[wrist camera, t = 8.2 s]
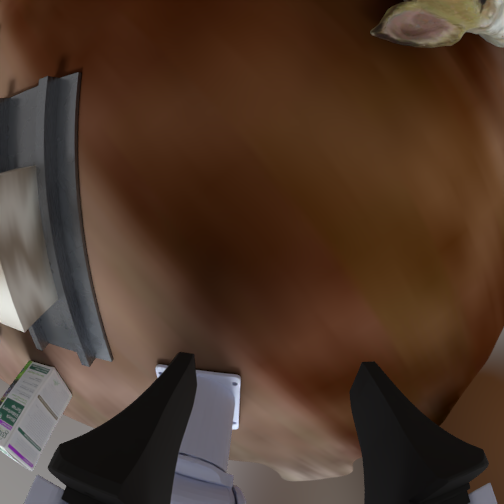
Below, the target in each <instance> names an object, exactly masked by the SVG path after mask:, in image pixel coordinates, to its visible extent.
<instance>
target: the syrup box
mask: <svg viewBox="0 0 504 504" xmlns="http://www.w3.org/2000/svg"><path fill="white" fill-rule="evenodd" d="M71 398H72V394H71V392H70V391H69V389H68V387H67V386H66V384H65V383H64V381H63V380H62V378H61V377H60V375H59V373H58V372H57V370H56V369H55V367H49V366H46V365H43V364H39V363H36V362H33V361H29V362H28V363H27V364H26V366H25V367H24V368H23V369H22V371H21V372H20V373H19V375H18V376H17V377H16V379H15V380H14V381H13V383H12V384H11V385H10V387H9V388H8V390H7V391H6V392H5V394H4V395H3V397H2V398H1V400H0V450H1V451H2V452H3V453H5V454H6V455H7V456H9V457H10V458H12V459H13V460H14V461H16V462H17V463H19V464H20V465H22V466H23V467H25V468H27V469H28V470H30V471H33V469H34V467H35V465H36V463H37V461H38V459H39V457H40V455H41V453H42V451H43V449H44V447H45V445H46V443H47V441H48V439H49V437H50V436H51V434H52V432H53V430H54V428H55V426H56V424H57V422H58V421H59V419H60V417H61V415H62V414H63V412H64V410H65V408H66V406H67V405H68V403H69V401H70V400H71Z"/></svg>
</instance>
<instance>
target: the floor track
mask: <svg viewBox="0 0 504 504" xmlns="http://www.w3.org/2000/svg"><path fill="white" fill-rule="evenodd" d="M81 74H82V73H80V72H77V73H74V74H71V75H68V76H65V77H62V78H56V77H50V76H47V77H44V78H42V79H39V86H37V87H34V88H32V89H29V90H27V91H24V92H22V93H20V94H18V95H15V96H13V97H11V98H0V173H2V172H6V171H9V170H13V169H18V168H24V167H29V166H35V165H36V173H37V187H38V197H39V206H40V214H41V221H42V228H43V234H44V239H45V245H46V250H47V255H48V259H49V264H50V268H51V272H52V276H53V280H54V284H55V288H56V292H57V295H58V300H57V301H56V302H55V303H54V304H53V305H52V306H51V307H50V308H49V309H48V310H47V311H45V312H44V313H43V314H42V315H41V316H40V317H39V318H38V319H37V320H36V321H35V322H34V323H33V324H32V326H31V327H30V328H29V332H30V334H31V336H32V339H33V341H34V343H35V345H36V348H37V349H39V350H42V351H43V350H44V349H45V347H46V346H47V345H48V344H49V343H50V344H53V345H56V346H59V347H62V348H65V349H69V350H72V351H75V352H77V354H78V356H79V358H80V361H81V363H82V365H85V366H88V367H90V366H91V364H92V363H93V361H94V360H95V358H99V359H103V360H107V361H111V362H112V361H113V357H112V354H111V351H110V347H109V344H108V341H107V338H106V334H105V331H104V327H103V324H102V320H101V316H100V313H99V309H98V305H97V301H96V296H95V292H94V287H93V283H92V278H91V273H90V268H89V262H88V257H87V251H86V245H85V238H84V231H83V223H82V214H81V205H80V193H79V178H78V108H79V94H80V83H81Z"/></svg>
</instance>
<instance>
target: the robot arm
mask: <svg viewBox="0 0 504 504" xmlns="http://www.w3.org/2000/svg"><path fill="white" fill-rule="evenodd" d="M155 369H156V374H157V379H156V380H155V382H154V383H153V384H152V385H151V386H150V387H149V388H148V389H147V390H146V391H145V392H144V393H143V394H142V395H141V396H139V397H138V398H137V399H136V400H135V401H134V402H133V403H132V404H130V405H129V406H128V407H127V408H125V409H124V410H123V411H122V412H120V413H119V414H117V415H116V416H115V417H113V418H112V419H110V420H109V421H107V422H106V423H104V424H102V425H101V426H99V427H97V428H95V429H93V430H91V431H90V432H88V433H86V434H84V435H82V436H79V437H77V438H74V439H72V440H70V441H67V442H64V443H62V444H60V445H59V447H58V448H57V450H56V452H55V453H54V456H53V457H52V459H51V462H50V464H49V466H48V469H49V471H50V472H51V473H52V474H53V475H54V476H55V477H56V478H58V479H59V480H60V481H61V482H63V483H64V484H65V485H66V489H65V490H63V489H61V488H60V487H58V486H56V485H54V484H53V483H51V482H49V481H48V480H46V479H44V478H43V477H41V476H39V475H37V476H36V478H35V480H34V482H33V484H32V486H31V488H30V490H29V493H28V495H27V497H26V499H25V502H24V504H247V503H246V499H245V496H244V495H243V493H242V491H241V489H240V488H239V487H238V486H235V485H233V478H234V476H233V475H231V474H228V473H227V466H228V458H229V450H230V442H231V434H232V429H238V427H239V408H240V386H241V377H240V376H239V375H236V374H227V373H218V372H209V371H201V370H196V368H195V359H194V354H190V353H183V352H180V353H178V354H177V355H176V357H175V358H174V359H173V361H172V362H171V363H170V364H169V366H168V365H162V364H158V365H157V366H156V368H155ZM161 372H162V373H161ZM234 382H236V383H234ZM350 401H351V409H352V414H353V418H354V423H355V427H356V431H357V435H358V439H359V443H360V447H361V452H362V457H363V467H364V485H365V504H497V501H496V498H495V495H494V492H493V489H492V486H491V483H488V484H486V485H484V486H482V487H481V488H479V489H477V490H475V491H473V492H472V493H470V494H468V493H467V490H468V489H470V485H469V482H470V481H471V480H473V479H474V478H475V477H477V476H478V475H479V474H480V473H482V472H483V471H484V470H485V469H486V468H487V467H488V464H489V463H488V460H487V458H486V456H485V453H484V451H483V449H480V448H478V447H475V446H473V445H470V444H468V443H466V442H464V441H462V440H460V439H458V438H456V437H455V436H453V435H451V434H449V433H448V432H446V431H445V430H443V429H442V428H441V427H439V426H438V425H436V424H435V423H434V422H432V421H431V420H430V419H429V418H427V417H426V416H425V415H424V414H423V413H422V412H420V411H419V410H418V409H417V408H416V407H415V406H414V405H413V404H412V403H411V402H410V401H409V400H408V399H407V398H406V397H405V396H404V395H403V394H402V393H401V391H400V390H399V389H398V388H397V387H396V386H395V385H394V384H393V382H392V381H391V380H390V379H389V378H388V377H387V375H386V374H385V373H384V372H383V371H382V370H381V368H380V367H379V366H378V365H377V364H376V363H375V362H362V364H361V366H360V369H359V371H358V373H357V376H356V378H355V380H354V383H353V385H352V387H351V389H350Z"/></svg>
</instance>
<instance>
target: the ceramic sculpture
mask: <svg viewBox="0 0 504 504" xmlns="http://www.w3.org/2000/svg"><path fill="white" fill-rule="evenodd" d="M465 32H470V33H474V34H479V35H480V36H481V37H482V38H484V39H485V40H486V41H488V42H490V43H492V44H493V45H495V46H498V47H503V48H504V0H404V2H402V3H399V4H397V5H394V6H392V7H390V8H389V9H388V10H387V11H386V13H385V15H384V16H383V18H382V19H381V21H380V23H379V24H378V25H377V26H376V27H374V28H373V29H372V30H371V31H370V34H371V35H373V36H376V37H378V38H381V39H385V40H388V41H390V42H393V43H397V44H401V45H407V46H413V47H428V48H434V47H441V46H452V45H453V44H455V43H456V42H458V41H459V40H460V39H461V38H462V36H463V34H464V33H465Z"/></svg>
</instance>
